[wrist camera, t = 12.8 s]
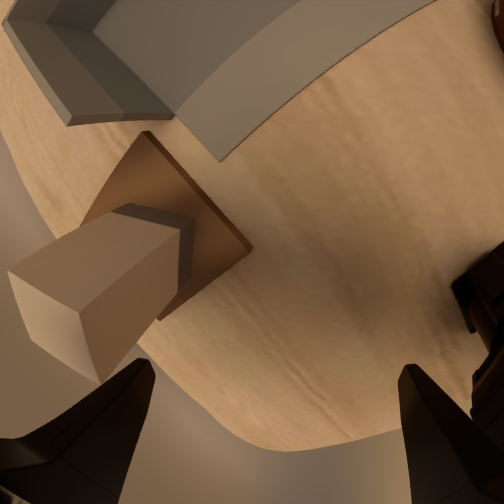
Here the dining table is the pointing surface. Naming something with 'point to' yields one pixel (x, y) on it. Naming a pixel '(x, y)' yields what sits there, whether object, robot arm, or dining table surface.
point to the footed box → (103, 285)
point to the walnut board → (173, 210)
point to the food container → (498, 21)
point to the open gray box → (189, 56)
